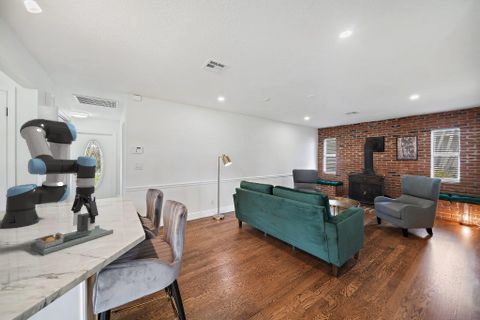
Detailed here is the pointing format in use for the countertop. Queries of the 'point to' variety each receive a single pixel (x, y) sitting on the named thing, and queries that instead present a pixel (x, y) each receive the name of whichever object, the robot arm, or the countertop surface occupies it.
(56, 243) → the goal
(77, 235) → the block
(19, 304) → the countertop surface
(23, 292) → the countertop surface
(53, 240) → the ball
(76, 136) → the robot arm
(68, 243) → the grey-green channel tray
